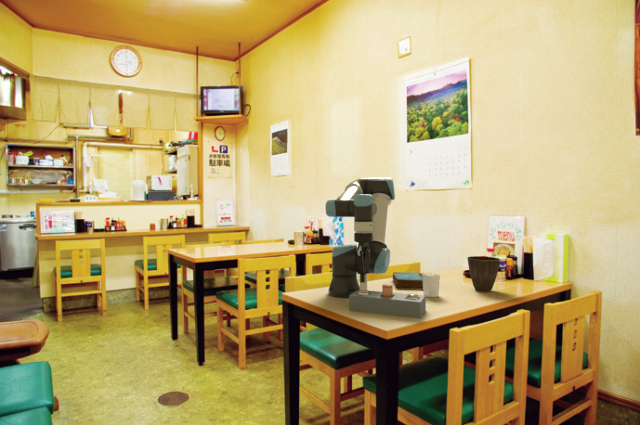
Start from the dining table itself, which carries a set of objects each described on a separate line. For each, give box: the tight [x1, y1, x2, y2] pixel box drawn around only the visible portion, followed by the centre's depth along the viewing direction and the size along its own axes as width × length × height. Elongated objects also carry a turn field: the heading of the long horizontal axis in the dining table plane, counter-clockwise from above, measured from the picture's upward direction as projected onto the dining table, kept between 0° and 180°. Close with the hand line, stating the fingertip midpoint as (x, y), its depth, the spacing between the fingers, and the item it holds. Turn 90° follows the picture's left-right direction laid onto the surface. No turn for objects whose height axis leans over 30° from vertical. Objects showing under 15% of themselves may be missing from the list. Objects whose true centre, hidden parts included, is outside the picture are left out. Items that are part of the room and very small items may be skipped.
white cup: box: [422, 272, 441, 298], centre depth 186 cm, size 8×8×10 cm
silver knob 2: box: [406, 293, 419, 300], centre depth 156 cm, size 4×4×6 cm
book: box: [392, 271, 424, 290], centre depth 213 cm, size 23×18×5 cm
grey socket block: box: [348, 290, 427, 319], centre depth 160 cm, size 28×12×6 cm, turn 66°
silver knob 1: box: [359, 289, 369, 295], centre depth 164 cm, size 4×4×6 cm
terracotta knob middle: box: [381, 284, 394, 297], centre depth 160 cm, size 4×4×6 cm
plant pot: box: [467, 255, 501, 293], centre depth 197 cm, size 15×15×16 cm
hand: (363, 289), depth 164 cm, fingers closed
